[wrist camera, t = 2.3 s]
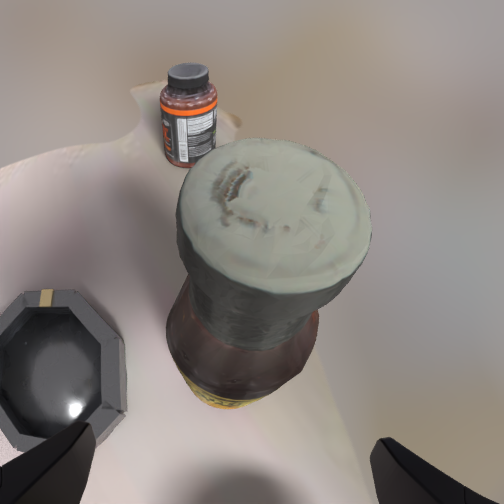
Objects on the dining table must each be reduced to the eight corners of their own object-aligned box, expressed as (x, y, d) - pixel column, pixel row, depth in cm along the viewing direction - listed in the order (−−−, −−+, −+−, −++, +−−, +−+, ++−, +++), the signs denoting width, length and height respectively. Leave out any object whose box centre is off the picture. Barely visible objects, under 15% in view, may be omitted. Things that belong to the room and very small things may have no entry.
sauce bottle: (170, 365, 23) (59, 167, 6) (231, 319, 25) (260, 82, 9) (225, 429, 20) (255, 435, 4) (286, 378, 23) (448, 215, 6)
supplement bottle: (161, 144, 36) (154, 63, 27) (207, 135, 38) (209, 55, 28) (170, 175, 33) (162, 86, 24) (221, 164, 35) (226, 76, 25)
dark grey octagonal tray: (134, 464, 18) (126, 467, 16) (-6, 442, 16) (-20, 440, 14) (126, 297, 25) (120, 285, 23) (2, 300, 23) (-9, 290, 21)
